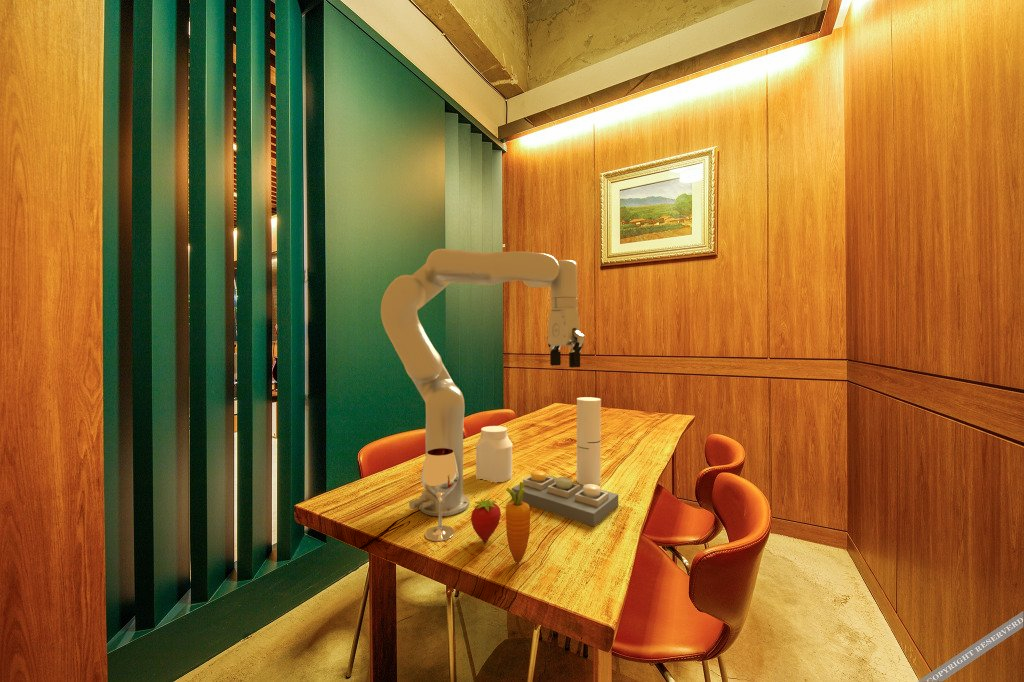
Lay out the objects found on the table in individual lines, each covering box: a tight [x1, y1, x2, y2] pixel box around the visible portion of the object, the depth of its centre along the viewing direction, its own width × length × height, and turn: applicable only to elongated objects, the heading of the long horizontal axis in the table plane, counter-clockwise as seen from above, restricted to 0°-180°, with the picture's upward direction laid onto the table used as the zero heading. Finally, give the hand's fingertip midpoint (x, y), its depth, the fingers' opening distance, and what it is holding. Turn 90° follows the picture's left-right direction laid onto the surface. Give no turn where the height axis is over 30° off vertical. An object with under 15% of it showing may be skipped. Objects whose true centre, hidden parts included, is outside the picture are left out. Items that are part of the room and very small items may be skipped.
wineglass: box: [420, 448, 459, 542], centre depth 82 cm, size 8×8×18 cm
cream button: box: [583, 484, 601, 497], centre depth 93 cm, size 4×4×2 cm
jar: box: [475, 425, 513, 484], centre depth 118 cm, size 12×10×15 cm
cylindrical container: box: [576, 396, 602, 486], centre depth 114 cm, size 7×7×25 cm
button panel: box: [511, 474, 619, 528], centre depth 98 cm, size 14×24×4 cm, turn 52°
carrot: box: [505, 481, 531, 564], centre depth 71 cm, size 5×5×15 cm
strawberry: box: [470, 494, 502, 543], centre depth 79 cm, size 6×8×10 cm
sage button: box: [555, 476, 573, 489], centre depth 98 cm, size 4×4×2 cm
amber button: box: [530, 470, 547, 482], centre depth 103 cm, size 4×4×2 cm
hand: (564, 366), depth 105 cm, fingers open, 9 cm apart
